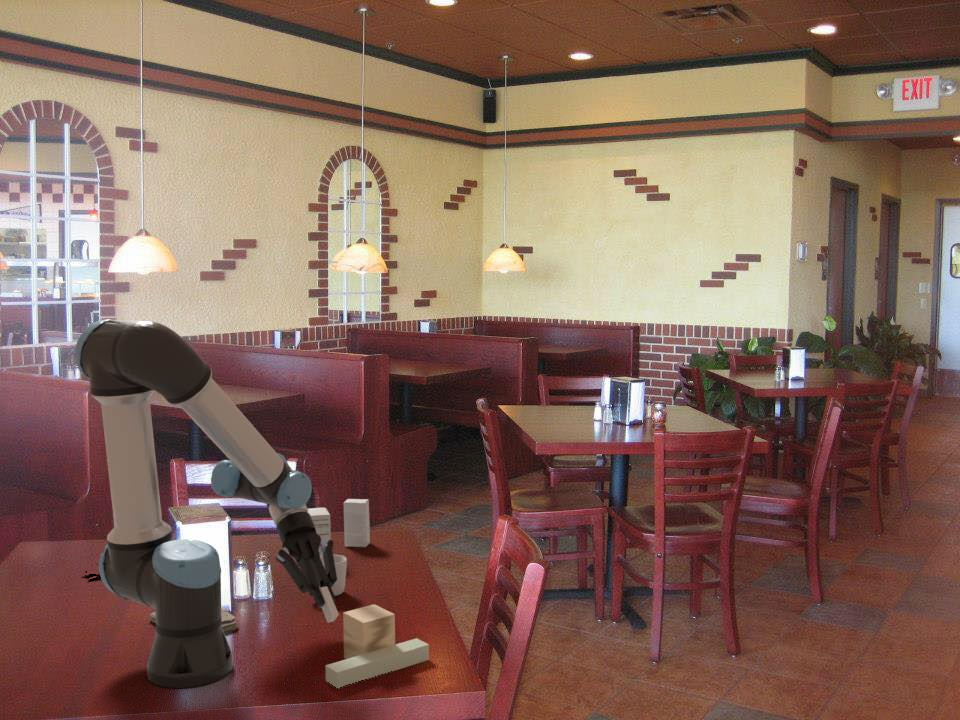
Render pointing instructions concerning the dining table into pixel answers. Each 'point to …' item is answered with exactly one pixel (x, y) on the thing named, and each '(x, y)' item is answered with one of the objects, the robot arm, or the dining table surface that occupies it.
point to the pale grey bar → (377, 662)
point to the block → (367, 630)
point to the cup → (338, 573)
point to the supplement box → (321, 523)
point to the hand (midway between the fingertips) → (333, 618)
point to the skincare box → (356, 523)
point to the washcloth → (227, 620)
